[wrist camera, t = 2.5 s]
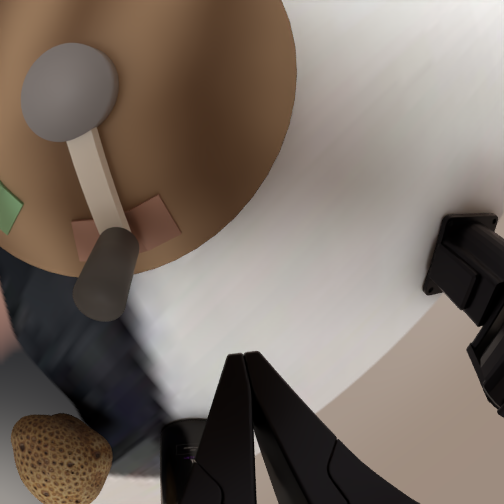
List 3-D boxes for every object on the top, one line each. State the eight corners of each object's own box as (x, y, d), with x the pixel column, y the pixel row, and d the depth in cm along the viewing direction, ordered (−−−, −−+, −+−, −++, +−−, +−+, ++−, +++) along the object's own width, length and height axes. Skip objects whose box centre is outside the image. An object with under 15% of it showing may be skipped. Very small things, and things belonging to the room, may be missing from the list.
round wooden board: (286, -83, 8) (293, -95, 7) (283, 250, 18) (290, 263, 17) (-46, -8, 6) (-59, -10, 4) (-10, 276, 15) (-19, 289, 14)
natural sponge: (7, 393, 21) (-17, 480, 12) (61, 376, 20) (38, 487, 12) (69, 439, 25) (61, 518, 17) (129, 429, 25) (127, 523, 16)
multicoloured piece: (29, 69, 9) (-35, 71, 5) (109, 32, 9) (66, 9, 5) (94, 264, 14) (67, 329, 10) (167, 245, 15) (160, 310, 11)
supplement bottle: (219, 411, 25) (239, 539, 15) (236, 441, 28) (257, 544, 18) (147, 422, 24) (149, 543, 14) (174, 451, 28) (183, 551, 18)
